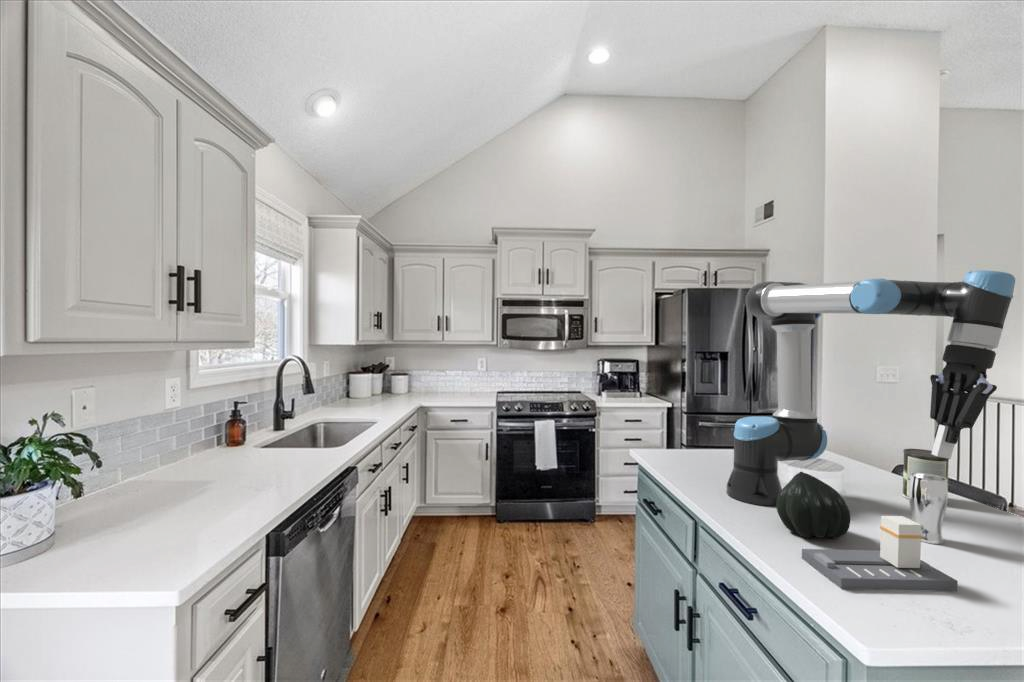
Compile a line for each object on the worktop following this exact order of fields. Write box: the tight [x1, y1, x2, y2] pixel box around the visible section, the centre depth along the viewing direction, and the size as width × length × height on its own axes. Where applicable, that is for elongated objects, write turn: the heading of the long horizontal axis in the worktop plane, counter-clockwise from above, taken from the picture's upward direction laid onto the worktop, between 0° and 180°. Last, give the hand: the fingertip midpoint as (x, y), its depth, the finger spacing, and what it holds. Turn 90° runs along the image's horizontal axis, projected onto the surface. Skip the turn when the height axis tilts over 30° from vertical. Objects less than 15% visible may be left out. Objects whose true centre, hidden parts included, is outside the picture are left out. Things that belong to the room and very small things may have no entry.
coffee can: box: [901, 448, 950, 505], centre depth 138 cm, size 10×10×14 cm
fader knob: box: [879, 515, 922, 568], centre depth 93 cm, size 5×5×9 cm
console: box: [801, 548, 959, 592], centre depth 94 cm, size 22×12×3 cm, turn 90°
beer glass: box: [908, 473, 949, 545], centre depth 111 cm, size 7×7×15 cm
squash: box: [775, 471, 852, 539], centre depth 113 cm, size 14×15×15 cm
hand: (940, 456), depth 97 cm, fingers closed
